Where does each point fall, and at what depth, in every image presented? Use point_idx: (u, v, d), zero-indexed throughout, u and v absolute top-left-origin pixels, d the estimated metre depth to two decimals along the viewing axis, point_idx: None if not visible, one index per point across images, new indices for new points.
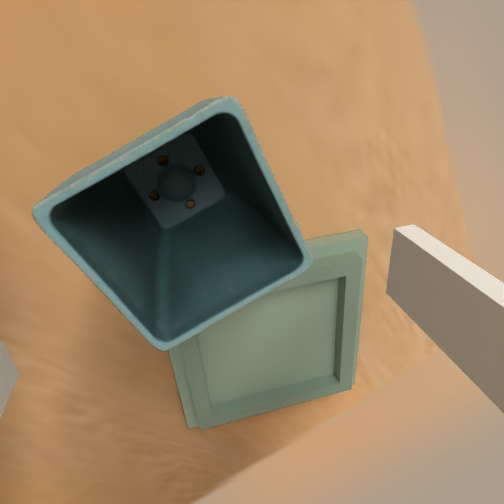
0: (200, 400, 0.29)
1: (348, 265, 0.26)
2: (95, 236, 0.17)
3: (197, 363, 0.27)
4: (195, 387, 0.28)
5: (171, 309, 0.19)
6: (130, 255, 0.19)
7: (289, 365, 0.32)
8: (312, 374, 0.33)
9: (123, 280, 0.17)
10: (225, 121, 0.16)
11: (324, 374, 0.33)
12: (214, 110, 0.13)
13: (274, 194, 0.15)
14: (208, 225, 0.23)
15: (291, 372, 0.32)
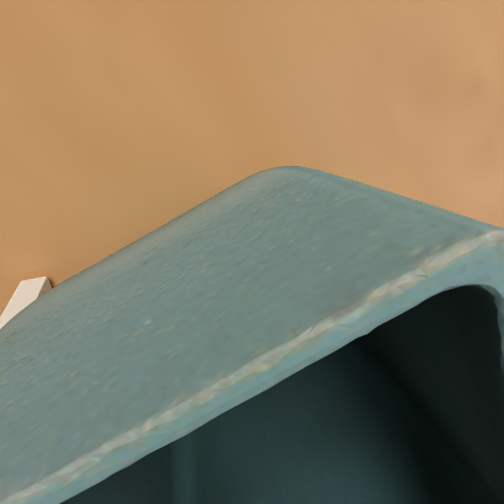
0: None
1: None
2: None
3: None
4: None
5: None
6: None
7: None
8: None
9: None
10: None
11: None
12: (439, 283, 0.03)
13: None
14: None
15: None
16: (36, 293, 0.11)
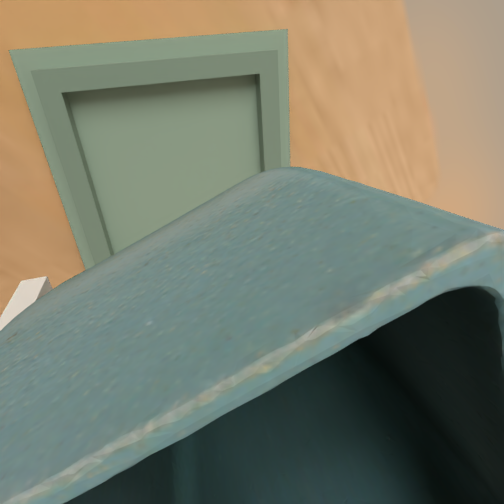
0: (94, 238, 0.25)
1: (260, 58, 0.22)
2: None
3: (83, 180, 0.23)
4: (85, 217, 0.24)
5: None
6: None
7: None
8: None
9: None
10: None
11: None
12: (440, 284, 0.03)
13: None
14: None
15: None
16: (36, 293, 0.11)
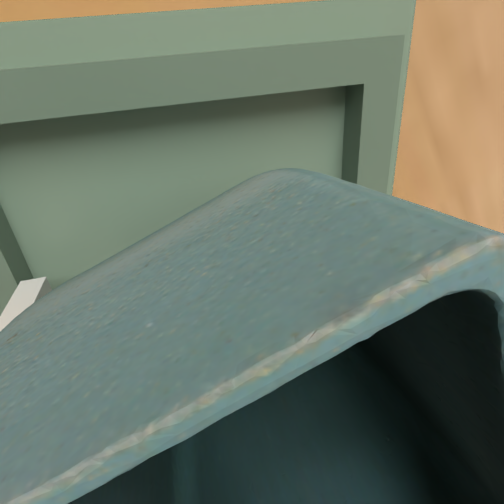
0: None
1: (369, 51, 0.11)
2: None
3: None
4: None
5: None
6: None
7: None
8: None
9: None
10: None
11: None
12: (440, 288, 0.03)
13: None
14: None
15: None
16: (35, 293, 0.11)
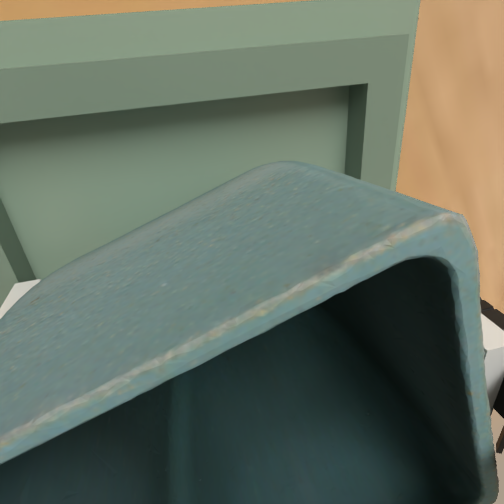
0: None
1: (373, 51, 0.11)
2: (50, 452, 0.08)
3: None
4: None
5: None
6: (127, 427, 0.10)
7: None
8: None
9: None
10: None
11: None
12: (402, 253, 0.04)
13: (474, 412, 0.06)
14: (255, 337, 0.14)
15: None
16: None
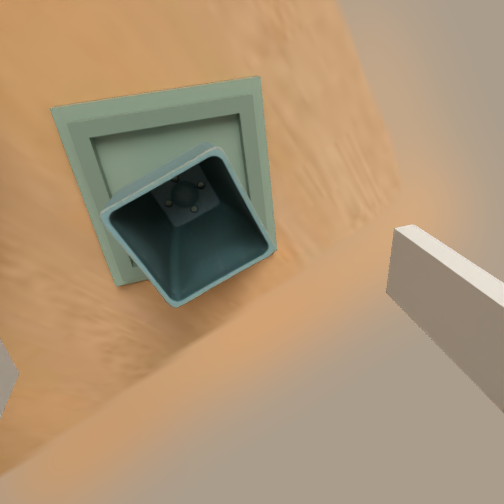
0: (117, 246, 0.32)
1: (239, 101, 0.28)
2: (132, 231, 0.25)
3: (106, 202, 0.30)
4: None
5: (180, 281, 0.28)
6: (153, 244, 0.28)
7: None
8: None
9: (150, 259, 0.26)
10: (216, 157, 0.25)
11: None
12: (208, 154, 0.22)
13: (246, 204, 0.24)
14: (207, 224, 0.32)
15: None
16: None
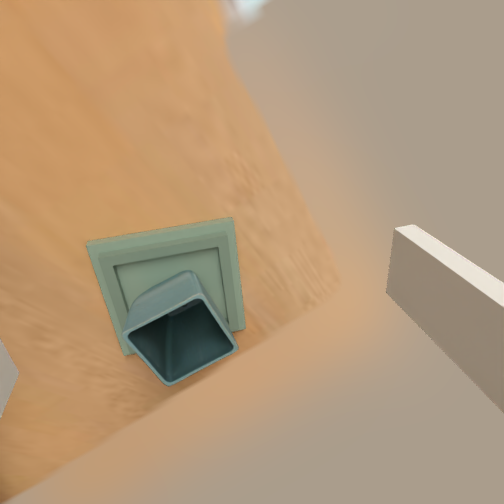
0: None
1: (218, 239, 0.41)
2: (141, 335, 0.38)
3: (121, 304, 0.42)
4: (122, 321, 0.43)
5: (172, 365, 0.40)
6: (154, 338, 0.40)
7: None
8: None
9: (152, 354, 0.38)
10: None
11: None
12: (193, 298, 0.34)
13: (218, 323, 0.36)
14: (193, 316, 0.44)
15: None
16: None
